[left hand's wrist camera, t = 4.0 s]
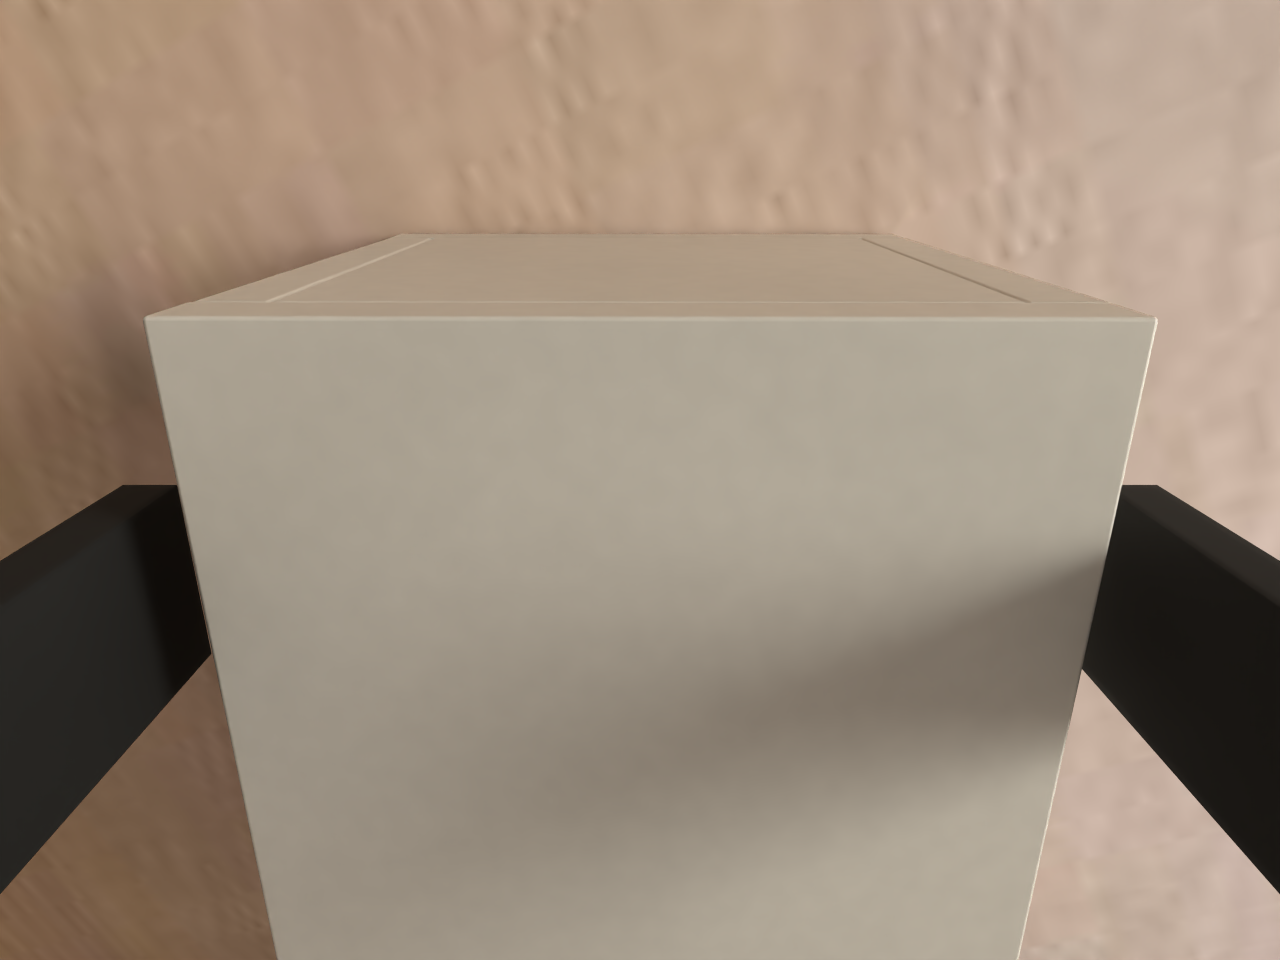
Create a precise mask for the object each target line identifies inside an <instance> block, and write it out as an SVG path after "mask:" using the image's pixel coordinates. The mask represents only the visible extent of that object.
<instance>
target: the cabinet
mask: <svg viewBox="0 0 1280 960" xmlns="http://www.w3.org/2000/svg"><path fill="white" fill-rule="evenodd" d="M143 323H144V328H145V333H146V338H147V342H148V347H149V352H150V357H151V362H152V366H153V371H154V376H155V381H156V385H157V390H158V395H159V400H160V404H161V409H162V414H163V419H164V423H165V428H166V433H167V438H168V443H169V447H170V452H171V457H172V462H173V466H174V471H175V476H176V481H177V485H178V490H179V495H180V500H181V504H182V509H183V514H184V519H185V524H186V528H187V533H188V538H189V543H190V547H191V552H192V557H193V562H194V566H195V571H196V576H197V581H198V585H199V590H200V595H201V600H202V605H203V609H204V614H205V619H206V624H207V628H208V633H209V638H210V643H211V647H212V652H213V657H214V662H215V666H216V671H217V676H218V681H219V686H220V690H221V695H222V700H223V705H224V709H225V714H226V719H227V724H228V728H229V733H230V738H231V743H232V748H233V752H234V757H235V762H236V767H237V771H238V776H239V781H240V786H241V790H242V795H243V800H244V805H245V809H246V814H247V819H248V824H249V829H250V833H251V838H252V843H253V848H254V852H255V857H256V862H257V867H258V871H259V876H260V881H261V886H262V890H263V895H264V900H265V905H266V910H267V914H268V919H269V924H270V929H271V933H272V938H273V943H274V948H275V952H276V957H277V960H1018V958H1019V954H1020V949H1021V944H1022V940H1023V935H1024V931H1025V926H1026V922H1027V917H1028V912H1029V908H1030V903H1031V899H1032V894H1033V889H1034V885H1035V880H1036V876H1037V871H1038V867H1039V862H1040V857H1041V853H1042V848H1043V844H1044V839H1045V835H1046V830H1047V825H1048V821H1049V816H1050V812H1051V807H1052V803H1053V798H1054V793H1055V789H1056V784H1057V780H1058V775H1059V771H1060V766H1061V761H1062V757H1063V752H1064V748H1065V743H1066V738H1067V734H1068V729H1069V725H1070V720H1071V716H1072V711H1073V706H1074V702H1075V697H1076V693H1077V688H1078V684H1079V679H1080V674H1081V670H1082V665H1083V661H1084V656H1085V652H1086V647H1087V642H1088V638H1089V633H1090V629H1091V624H1092V620H1093V615H1094V610H1095V606H1096V601H1097V597H1098V592H1099V587H1100V583H1101V578H1102V574H1103V569H1104V565H1105V560H1106V555H1107V551H1108V546H1109V542H1110V537H1111V533H1112V528H1113V523H1114V519H1115V514H1116V510H1117V505H1118V501H1119V496H1120V491H1121V487H1122V482H1123V478H1124V473H1125V469H1126V464H1127V459H1128V455H1129V450H1130V446H1131V441H1132V436H1133V432H1134V427H1135V423H1136V418H1137V414H1138V409H1139V404H1140V400H1141V395H1142V391H1143V386H1144V382H1145V377H1146V372H1147V368H1148V363H1149V359H1150V354H1151V350H1152V345H1153V340H1154V336H1155V331H1156V327H1157V318H1156V317H1153V316H1151V315H1147V314H1144V313H1141V312H1138V311H1135V310H1132V309H1128V308H1125V307H1122V306H1119V305H1116V304H1113V303H1109V302H1107V301H1104V300H1100V299H1097V298H1094V297H1091V296H1088V295H1085V294H1081V293H1078V292H1075V291H1072V290H1069V289H1065V288H1062V287H1059V286H1056V285H1053V284H1050V283H1046V282H1043V281H1040V280H1037V279H1034V278H1031V277H1027V276H1024V275H1021V274H1018V273H1015V272H1012V271H1008V270H1005V269H1002V268H999V267H996V266H992V265H989V264H986V263H983V262H980V261H977V260H973V259H970V258H967V257H964V256H961V255H958V254H954V253H951V252H948V251H945V250H942V249H939V248H935V247H932V246H929V245H926V244H923V243H919V242H916V241H913V240H910V239H907V238H903V237H900V236H897V235H894V234H400V235H397V236H393V237H391V238H389V239H386V240H383V241H379V242H376V243H373V244H370V245H367V246H364V247H361V248H358V249H355V250H352V251H348V252H345V253H342V254H339V255H336V256H333V257H330V258H327V259H324V260H321V261H317V262H314V263H311V264H308V265H305V266H302V267H299V268H296V269H293V270H290V271H287V272H283V273H280V274H277V275H274V276H271V277H268V278H265V279H262V280H259V281H256V282H252V283H249V284H246V285H243V286H240V287H237V288H234V289H231V290H228V291H225V292H221V293H218V294H215V295H212V296H209V297H206V298H203V299H200V300H197V301H195V302H188V303H185V304H181V305H178V306H175V307H172V308H169V309H166V310H163V311H160V312H156V313H153V314H150V315H147V316H145V317H144V318H143Z"/></svg>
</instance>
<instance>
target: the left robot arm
mask: <svg viewBox="0 0 1280 960" xmlns="http://www.w3.org/2000/svg"><path fill="white" fill-rule="evenodd" d="M210 655H211V649H210V644H209V639H208V634H207V630H206V625H205V620H204V615H203V610H202V605H201V600H200V595H199V590H198V585H197V580H196V576H195V571H194V566H193V561H192V556H191V551H190V546H189V541H188V536H187V531H186V527H185V522H184V517H183V512H182V507H181V502H180V497H179V492H178V487H177V485H122V486H121V487H119V488H118V489H116V490H114V491H113V492H111V493H109V494H108V495H106V496H105V497H103V498H101V499H100V500H98V501H96V502H95V503H93V504H92V505H90V506H88V507H87V508H85V509H84V510H82V511H80V512H79V513H77V514H75V515H74V516H72V517H71V518H69V519H67V520H66V521H64V522H63V523H61V524H59V525H58V526H56V527H54V528H53V529H51V530H50V531H48V532H46V533H45V534H43V535H42V536H40V537H38V538H37V539H35V540H33V541H32V542H30V543H29V544H27V545H25V546H24V547H22V548H20V549H19V550H17V551H16V552H14V553H12V554H11V555H9V556H8V557H6V558H4V559H3V560H1V561H0V894H1V893H2V891H3V890H4V889H5V888H6V887H7V886H8V885H9V883H10V882H11V881H12V880H13V879H14V878H15V877H16V875H17V874H18V873H19V872H20V871H21V870H22V869H23V867H24V866H25V865H26V864H27V863H28V862H29V861H30V859H31V858H32V857H33V856H34V855H35V854H36V853H37V852H38V850H39V849H40V848H41V847H42V846H43V845H44V844H45V842H46V841H47V840H48V839H49V838H50V837H51V836H52V834H53V833H54V832H55V831H56V830H57V829H58V828H59V826H60V825H61V824H62V823H63V822H64V821H65V820H66V818H67V817H68V816H69V815H70V814H71V813H72V812H73V811H74V809H75V808H76V807H77V806H78V805H79V804H80V803H81V801H82V800H83V799H84V798H85V797H86V796H87V795H88V793H89V792H90V791H91V790H92V789H93V788H94V787H95V785H96V784H97V783H98V782H99V781H100V780H101V779H102V777H103V776H104V775H105V774H106V773H107V772H108V771H109V770H110V768H111V767H112V766H113V765H114V764H115V763H116V762H117V760H118V759H119V758H120V757H121V756H122V755H123V754H124V752H125V751H126V750H127V749H128V748H129V747H130V746H131V744H132V743H133V742H134V741H135V740H136V739H137V738H138V736H139V735H140V734H141V733H142V732H143V731H144V730H145V729H146V727H147V726H148V725H149V724H150V723H151V722H152V721H153V719H154V718H155V717H156V716H157V715H158V714H159V713H160V711H161V710H162V709H163V708H164V707H165V706H166V705H167V703H168V702H169V701H170V700H171V699H172V698H173V697H174V695H175V694H176V693H177V692H178V691H179V690H180V689H181V688H182V686H183V685H184V684H185V683H186V682H187V681H188V680H189V678H190V677H191V676H192V675H193V674H194V673H195V672H196V670H197V669H198V668H199V667H200V666H201V665H202V664H203V662H204V661H205V660H206V659H207V658H208V657H209V656H210ZM1082 669H1083V670H1084V672H1085V673H1086V674H1087V675H1088V676H1089V677H1090V678H1091V680H1092V681H1093V682H1094V683H1095V684H1096V685H1097V686H1098V688H1099V689H1100V690H1101V691H1102V692H1103V693H1104V694H1105V696H1106V697H1107V698H1108V699H1109V700H1110V701H1111V702H1112V703H1113V705H1114V706H1115V707H1116V708H1117V709H1118V710H1119V711H1120V713H1121V714H1122V715H1123V716H1124V717H1125V718H1126V719H1127V721H1128V722H1129V723H1130V724H1131V725H1132V726H1133V727H1134V729H1135V730H1136V731H1137V732H1138V733H1139V734H1140V735H1141V736H1142V738H1143V739H1144V740H1145V741H1146V742H1147V743H1148V744H1149V746H1150V747H1151V748H1152V749H1153V750H1154V751H1155V752H1156V754H1157V755H1158V756H1159V757H1160V758H1161V759H1162V760H1163V762H1164V763H1165V764H1166V765H1167V766H1168V767H1169V768H1170V770H1171V771H1172V772H1173V773H1174V774H1175V775H1176V776H1177V777H1178V779H1179V780H1180V781H1181V782H1182V783H1183V784H1184V785H1185V787H1186V788H1187V789H1188V790H1189V791H1190V792H1191V793H1192V795H1193V796H1194V797H1195V798H1196V799H1197V800H1198V801H1199V803H1200V804H1201V805H1202V806H1203V807H1204V808H1205V809H1206V811H1207V812H1208V813H1209V814H1210V815H1211V816H1212V817H1213V818H1214V820H1215V821H1216V822H1217V823H1218V824H1219V825H1220V826H1221V828H1222V829H1223V830H1224V831H1225V832H1226V833H1227V834H1228V836H1229V837H1230V838H1231V839H1232V840H1233V841H1234V842H1235V844H1236V845H1237V846H1238V847H1239V848H1240V849H1241V850H1242V852H1243V853H1244V854H1245V855H1246V856H1247V857H1248V858H1249V859H1250V861H1251V862H1252V863H1253V864H1254V865H1255V866H1256V867H1257V869H1258V870H1259V871H1260V872H1261V873H1262V874H1263V875H1264V877H1265V878H1266V879H1267V880H1268V881H1269V882H1270V883H1271V885H1272V886H1273V887H1274V888H1275V889H1276V890H1277V891H1278V893H1279V894H1280V561H1279V560H1277V559H1276V558H1274V557H1272V556H1271V555H1269V554H1268V553H1266V552H1264V551H1263V550H1261V549H1260V548H1258V547H1256V546H1255V545H1253V544H1251V543H1250V542H1248V541H1247V540H1245V539H1243V538H1242V537H1240V536H1238V535H1237V534H1235V533H1234V532H1232V531H1230V530H1229V529H1227V528H1226V527H1224V526H1222V525H1221V524H1219V523H1217V522H1216V521H1214V520H1213V519H1211V518H1209V517H1208V516H1206V515H1205V514H1203V513H1201V512H1200V511H1198V510H1196V509H1195V508H1193V507H1192V506H1190V505H1188V504H1187V503H1185V502H1184V501H1182V500H1180V499H1179V498H1177V497H1175V496H1174V495H1172V494H1171V493H1169V492H1167V491H1166V490H1164V489H1162V488H1161V487H1159V486H1158V485H1122V487H1121V491H1120V496H1119V501H1118V505H1117V510H1116V514H1115V519H1114V523H1113V528H1112V533H1111V537H1110V542H1109V546H1108V551H1107V555H1106V560H1105V565H1104V569H1103V574H1102V578H1101V583H1100V587H1099V592H1098V597H1097V601H1096V606H1095V610H1094V615H1093V620H1092V624H1091V629H1090V633H1089V638H1088V642H1087V647H1086V652H1085V656H1084V661H1083V665H1082Z"/></svg>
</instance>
